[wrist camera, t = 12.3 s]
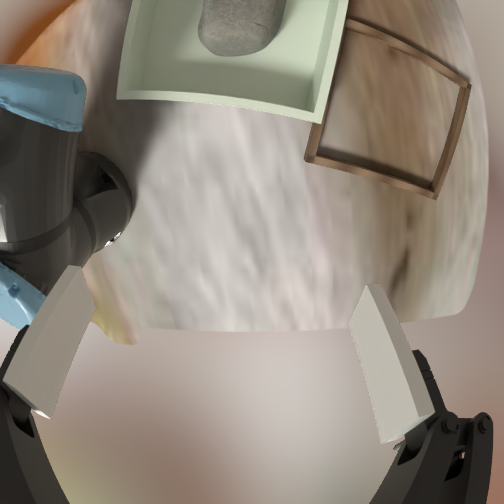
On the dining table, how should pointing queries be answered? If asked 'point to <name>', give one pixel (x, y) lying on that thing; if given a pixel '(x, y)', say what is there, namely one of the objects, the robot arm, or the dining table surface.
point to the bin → (232, 59)
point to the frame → (451, 139)
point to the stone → (239, 25)
